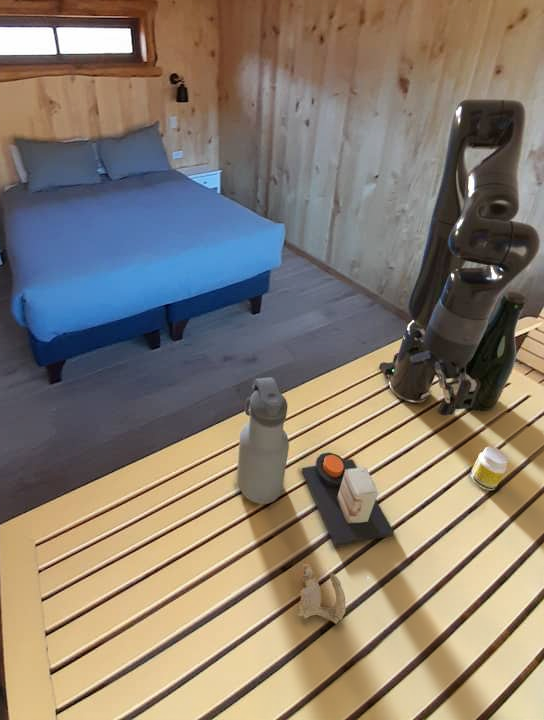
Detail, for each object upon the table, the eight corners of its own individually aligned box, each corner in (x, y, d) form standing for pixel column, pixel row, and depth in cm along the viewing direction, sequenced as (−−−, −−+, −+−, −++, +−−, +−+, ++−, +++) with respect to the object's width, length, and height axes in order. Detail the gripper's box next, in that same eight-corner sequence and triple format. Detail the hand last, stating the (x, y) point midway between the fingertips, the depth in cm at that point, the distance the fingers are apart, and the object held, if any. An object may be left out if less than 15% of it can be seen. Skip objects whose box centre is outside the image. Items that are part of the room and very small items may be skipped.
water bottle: (232, 461, 91) (238, 371, 79) (274, 457, 92) (286, 367, 79) (242, 508, 82) (250, 415, 69) (288, 503, 83) (305, 410, 70)
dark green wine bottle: (442, 395, 107) (482, 293, 92) (456, 375, 113) (496, 277, 98) (487, 420, 100) (539, 315, 85) (500, 398, 106) (550, 295, 91)
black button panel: (298, 465, 90) (300, 457, 89) (347, 457, 92) (350, 448, 91) (334, 547, 76) (337, 539, 74) (392, 535, 78) (395, 526, 76)
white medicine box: (336, 497, 83) (344, 467, 78) (356, 496, 83) (365, 465, 78) (347, 525, 78) (356, 494, 73) (368, 523, 78) (379, 492, 74)
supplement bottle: (500, 493, 84) (515, 468, 80) (475, 488, 85) (488, 463, 81) (489, 471, 88) (503, 446, 85) (466, 467, 89) (478, 442, 85)
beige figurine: (275, 587, 69) (307, 548, 67) (297, 577, 73) (327, 541, 71) (310, 648, 63) (346, 608, 60) (331, 634, 67) (366, 596, 64)
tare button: (319, 461, 88) (320, 456, 88) (336, 458, 89) (337, 453, 88) (328, 479, 85) (329, 474, 84) (345, 475, 85) (347, 470, 85)
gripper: (511, 355, 61) (474, 424, 69) (445, 299, 74) (420, 363, 82) (467, 361, 60) (435, 430, 68) (408, 303, 73) (386, 367, 81)
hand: (427, 394), depth 75 cm, fingers open, 8 cm apart
